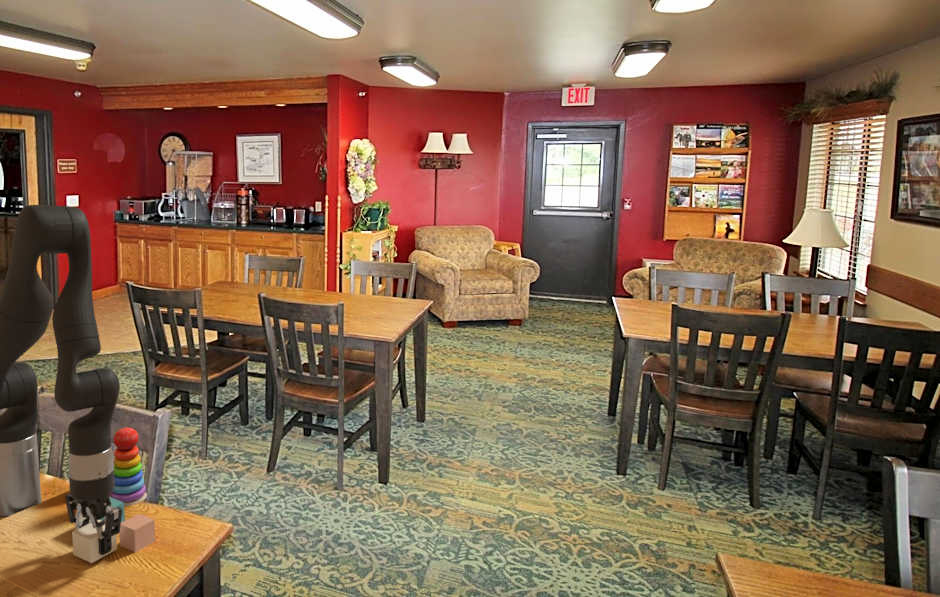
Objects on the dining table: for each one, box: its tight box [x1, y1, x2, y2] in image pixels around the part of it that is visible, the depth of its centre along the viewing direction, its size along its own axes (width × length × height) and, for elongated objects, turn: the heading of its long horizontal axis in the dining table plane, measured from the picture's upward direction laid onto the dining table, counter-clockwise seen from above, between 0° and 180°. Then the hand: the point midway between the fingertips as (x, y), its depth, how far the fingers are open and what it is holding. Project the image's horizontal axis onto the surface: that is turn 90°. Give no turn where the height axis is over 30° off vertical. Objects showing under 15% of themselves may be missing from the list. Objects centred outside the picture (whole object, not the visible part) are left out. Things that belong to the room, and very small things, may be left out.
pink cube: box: [118, 513, 156, 553], centre depth 130 cm, size 5×5×5 cm
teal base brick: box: [100, 496, 126, 523], centre depth 135 cm, size 6×6×5 cm
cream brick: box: [71, 520, 118, 564], centre depth 126 cm, size 5×5×5 cm
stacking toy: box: [109, 427, 148, 508], centre depth 146 cm, size 8×8×19 cm
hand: (95, 547), depth 126 cm, fingers closed on cream brick, 5 cm apart
